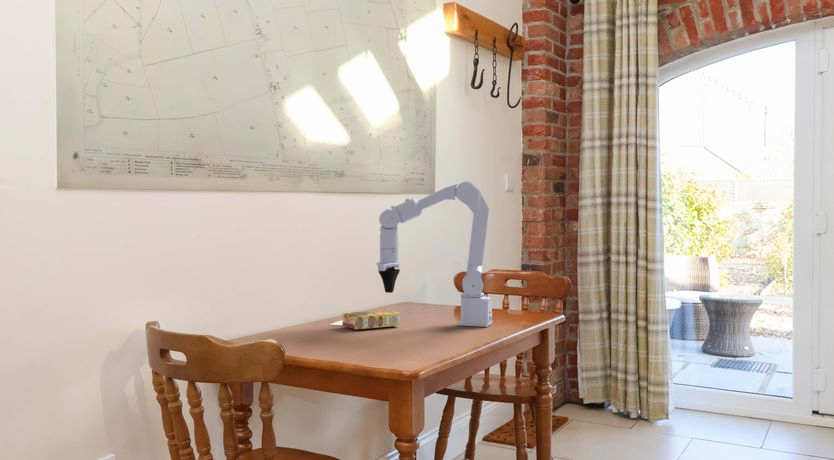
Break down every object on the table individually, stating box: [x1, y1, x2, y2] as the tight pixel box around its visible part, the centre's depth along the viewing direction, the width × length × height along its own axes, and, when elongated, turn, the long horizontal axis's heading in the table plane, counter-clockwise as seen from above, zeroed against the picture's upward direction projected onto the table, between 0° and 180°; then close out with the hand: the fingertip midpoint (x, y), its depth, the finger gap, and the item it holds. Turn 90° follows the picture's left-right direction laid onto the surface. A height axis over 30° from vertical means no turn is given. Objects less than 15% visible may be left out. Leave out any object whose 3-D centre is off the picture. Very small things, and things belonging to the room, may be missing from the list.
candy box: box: [341, 309, 401, 330], centre depth 235 cm, size 9×4×15 cm
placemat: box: [328, 319, 344, 327], centre depth 244 cm, size 14×16×1 cm
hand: (389, 292), depth 241 cm, fingers closed
